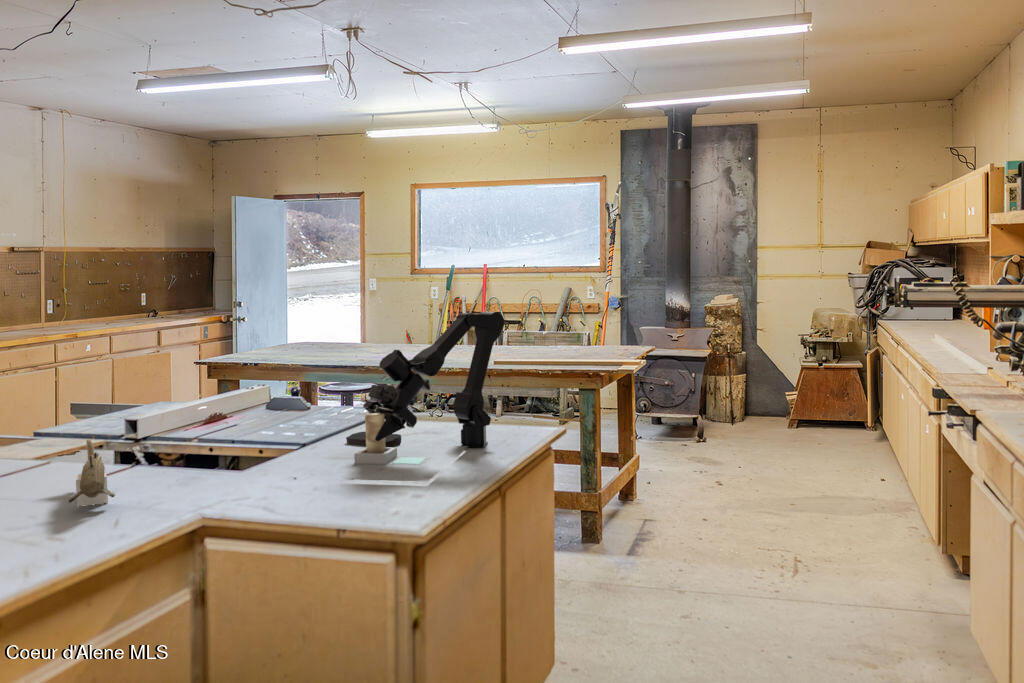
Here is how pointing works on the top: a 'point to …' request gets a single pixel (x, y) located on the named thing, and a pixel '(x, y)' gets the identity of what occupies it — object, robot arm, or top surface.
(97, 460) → the wood carving
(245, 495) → the top surface
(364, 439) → the black sponge
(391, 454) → the jig board
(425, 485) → the top surface
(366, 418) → the maple post
